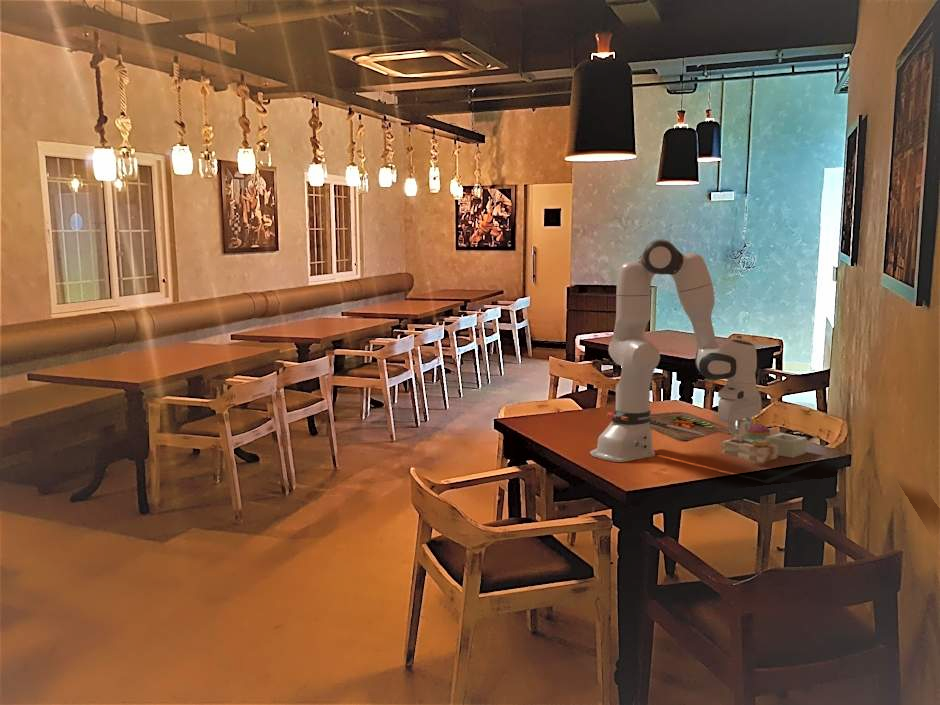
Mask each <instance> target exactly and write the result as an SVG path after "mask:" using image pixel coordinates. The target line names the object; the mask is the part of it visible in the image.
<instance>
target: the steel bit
mask: <svg viewBox="0 0 940 705" xmlns="http://www.w3.org/2000/svg"><path fill="white" fill-rule="evenodd" d="M735 427H736V428H737V433H736V434H734V435H733V436H734V437H733V438H734V442H736V443H740V444H743V443H745V439H746V438H745V437H746V435H745V419H741V420H737V421H736V424H735Z"/></svg>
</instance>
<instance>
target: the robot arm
mask: <svg viewBox="0 0 940 705" xmlns="http://www.w3.org/2000/svg"><path fill="white" fill-rule="evenodd" d="M639 256H640V257H639V258H638V259H637V260H636V259H635V260H629V261H626V262H625V263H623V264H621V265H620V267H619V269H618V275H617V281H616V293H615V294H616V297H615V298H616V300H615V303H616V306H615V308H616V309H615V310H616V312H615V314H616V315H615V324H614V329H613V334H612V339H611V340H610V342H609V345H608V350H607V351H608V355H609V356H610V358H611V360H613V362H614V363H615V364H616V365H618V366H621V373H620V375H619V376H620V377H619V381H618V383H617V384H616V387H615V409H614V410H613V412H607V413H606V418H607V419H611V422H610V423H609V425H608V426H607V427H606V428H604V431H603V432H602V433H601V434H600V435H599V436H598V438H597V445H596V446H597V447H596V448H594V449H593V450H590V452H589V454H591V455H590V456H592V457H594V458H596V457H597V459H601V460H602V461H603V460H604V461H609V462H614V463H615V462H616V463H625V462H630V461H635V460H636V461H637V460H641V459H646V458H652V457H656V451H655V450H654V440H653V430H652V429H651V428H650V425H649V422H650V417H651V415H650V414H651V410H650V395H651V394H650V389H651V383H652V379H653V377H654V376H653V375H654V372H655V369H656V368H657V367H658V365H659V363H660V361H661V354H660V351H659V349H658V346H656V345H655V344H654V343H653V342H651V341H650V340H648V339H647V338H646V339H645V333H646V329H647V325H648V323H649V322H650V319H651V309H652V308H651V307H652V306H651V300H652V299H651V298H652V296H651V286H652V285H651V284H652V279H653V278H654V276H655V275H670V276H671V277H672V278H673V281H674V283H675V284H674V285H675V287H676V292H677V295H678V299H679V301H680V302H679V303H680V304H681V306H682V309H683V311H684V312H685V314H686V316H687V317H688V318H689V321H690V323H691V325H692V329H693V334H694V337H695V342H696V348H697V349H696V355H695V357H694V361H695V367H696V369H697V370H698V371H699V373H700V374H701V375H702V376H703V377H704V378H705V379H706V380H709V381H710V380H711V381H720V380H727V381H726V382H727V383H726V384H724V386H723V387H722V388H721V389H719V390H718V393H717V397H718V398H719V400H718V405H717V407H718V408H717V409H718V410H717V414H718V415H717V416H718V419H719V421H720V422H722V423H727V425H728V427H729V428H730V433H731V434H736V433H737V428H736V427H735V424H736V421H737V420H741V419H743V420H745V430H749V429H750V424H752V422H753V416H755V417H756V416H757V415H758V416H759V415H760V414H761V412H762V396H761V393H760V390H759V388H758V387H757V378H756V372H757V369H758V368H757V367H758V361H757V360H758V358H757V355H758V354H757V348H756V347H755V345H754V344H753V343H751V342H750V341H746V340H741V339H732V340H730V341H729V342H728V343H725V344H724V345H722V346H719V345H718V342H717V339H716V335H715V330H714V325H713V321H712V314H713V309H714V306H715V291H714V286H713V281H712V278H711V275H710V271H709V269H708V266H707V263H705V260H704V258H703V256H702V255H700V254H699V253H695V252H689V253H685V254H682V253H681V252H680V250H678V249H677V248H676V247H675V246H674V244H673V243H672V242H671V241H670V240H667V239H664V238H657V239H654V240H651V241H650V242H648V243H647V244H646V245H645V247H644V248H643V250H642V253H641V255H639Z"/></svg>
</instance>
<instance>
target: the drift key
mask: <svg viewBox="0 0 940 705" xmlns="http://www.w3.org/2000/svg"><path fill="white" fill-rule="evenodd" d="M766 440H767V439H765V440H761V439H758V440H755V441H752V445H755V446H757V447H765V446H767V445H769V443H770V441H766Z"/></svg>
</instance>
